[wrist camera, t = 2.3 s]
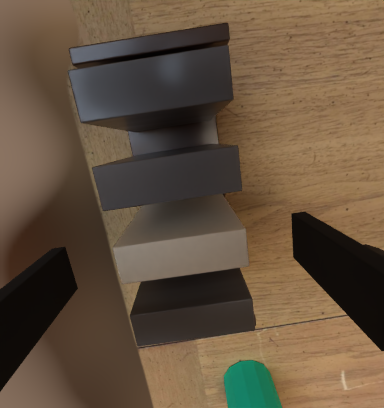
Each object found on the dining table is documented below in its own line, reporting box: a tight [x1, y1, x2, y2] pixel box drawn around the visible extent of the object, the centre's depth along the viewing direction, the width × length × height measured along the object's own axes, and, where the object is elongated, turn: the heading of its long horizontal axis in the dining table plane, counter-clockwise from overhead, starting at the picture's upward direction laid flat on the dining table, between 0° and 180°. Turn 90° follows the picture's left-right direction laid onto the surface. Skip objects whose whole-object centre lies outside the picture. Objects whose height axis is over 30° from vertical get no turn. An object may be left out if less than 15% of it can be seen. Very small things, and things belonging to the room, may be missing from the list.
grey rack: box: [68, 23, 256, 346], centre depth 18 cm, size 18×8×12 cm, turn 8°
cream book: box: [113, 194, 249, 284], centre depth 18 cm, size 2×7×11 cm, turn 98°
